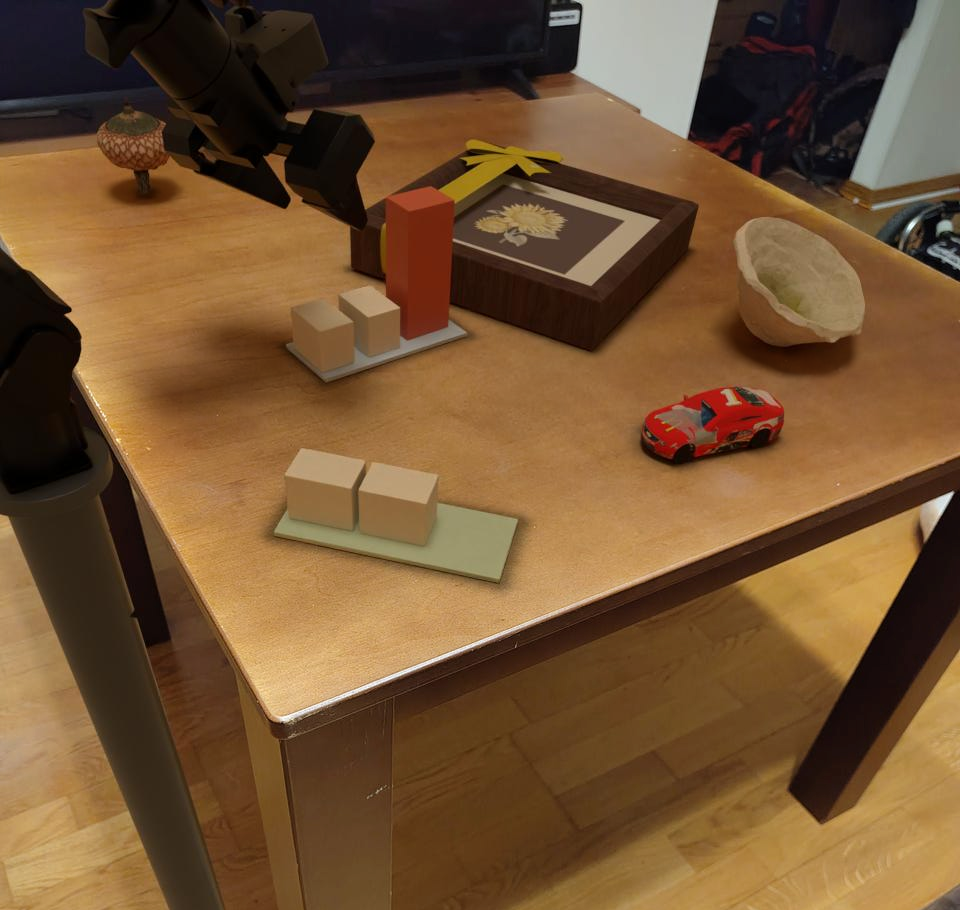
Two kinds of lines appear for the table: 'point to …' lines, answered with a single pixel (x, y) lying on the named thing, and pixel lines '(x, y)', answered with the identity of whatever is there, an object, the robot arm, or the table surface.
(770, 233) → the bowl
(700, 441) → the race car
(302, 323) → the blocks on base plate
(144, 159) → the acorn
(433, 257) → the orange upright bar
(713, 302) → the table surface
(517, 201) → the picture frame
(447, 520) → the pale green base plate
